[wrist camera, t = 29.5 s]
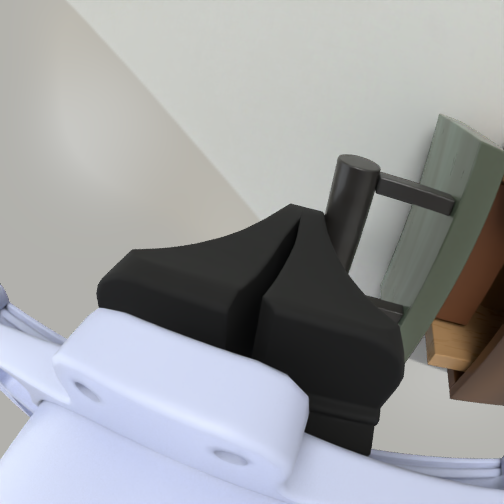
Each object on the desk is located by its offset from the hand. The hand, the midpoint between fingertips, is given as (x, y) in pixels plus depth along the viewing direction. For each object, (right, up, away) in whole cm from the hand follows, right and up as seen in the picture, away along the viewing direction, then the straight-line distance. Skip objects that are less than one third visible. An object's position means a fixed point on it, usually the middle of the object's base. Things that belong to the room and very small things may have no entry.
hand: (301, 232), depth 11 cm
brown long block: (+9, 0, +2) cm, 9 cm away
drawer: (+9, +1, +2) cm, 9 cm away
